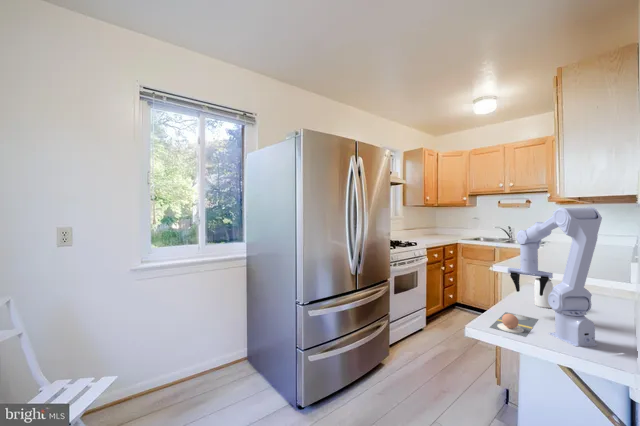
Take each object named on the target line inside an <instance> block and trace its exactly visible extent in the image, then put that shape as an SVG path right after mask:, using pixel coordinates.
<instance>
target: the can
mask: <svg viewBox="0 0 640 426" xmlns="http://www.w3.org/2000/svg"><path fill="white" fill-rule="evenodd" d="M539 278H540V277H536V278H534V279H535V280H534V283H533V286H534V287H533V288H534V289H533V293H534V294H533V295H534V297H533V298H534V301H533V303H534V305H535V306H536V307H538V308H540V309H541V308H542V309H552V308H551V306H550V305H549V302H548V296H549V294H550V293H551V292H552V289H553V287H554V286H553V285H554V284H553V282H552V280H551V278H549V280H548V282H547V283H546V285H545V288H544V291H543V295H542V296H540V281H539Z"/></svg>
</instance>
